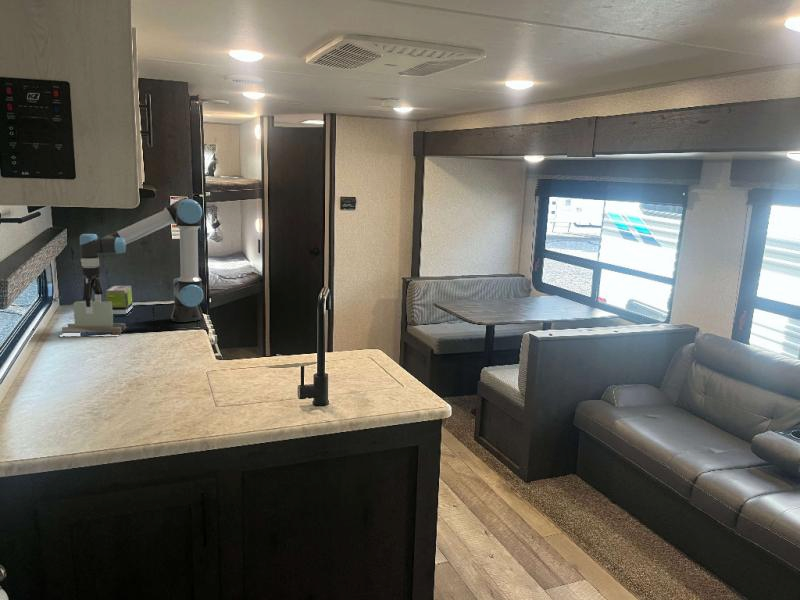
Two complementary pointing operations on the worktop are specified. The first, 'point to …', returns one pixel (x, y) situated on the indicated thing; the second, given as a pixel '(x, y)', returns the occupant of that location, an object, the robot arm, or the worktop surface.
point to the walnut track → (95, 329)
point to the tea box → (120, 299)
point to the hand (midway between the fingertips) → (94, 310)
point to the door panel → (93, 314)
